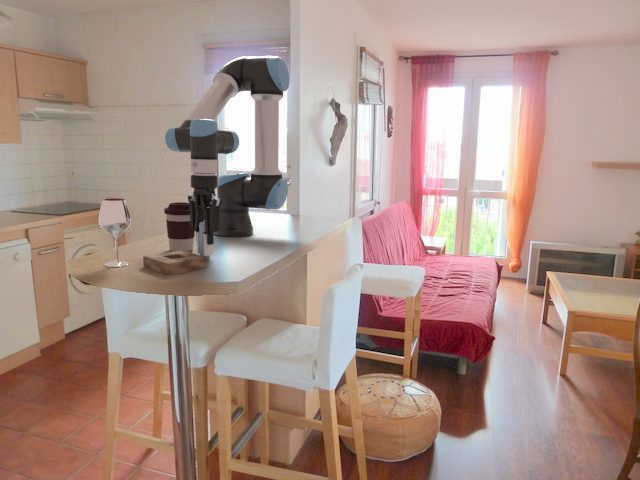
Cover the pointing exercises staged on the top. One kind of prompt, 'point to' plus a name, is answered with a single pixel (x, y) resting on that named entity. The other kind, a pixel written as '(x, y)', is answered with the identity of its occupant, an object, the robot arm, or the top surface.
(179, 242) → the coffee cup
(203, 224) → the peg
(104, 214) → the wineglass
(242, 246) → the top surface
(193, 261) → the hole block
